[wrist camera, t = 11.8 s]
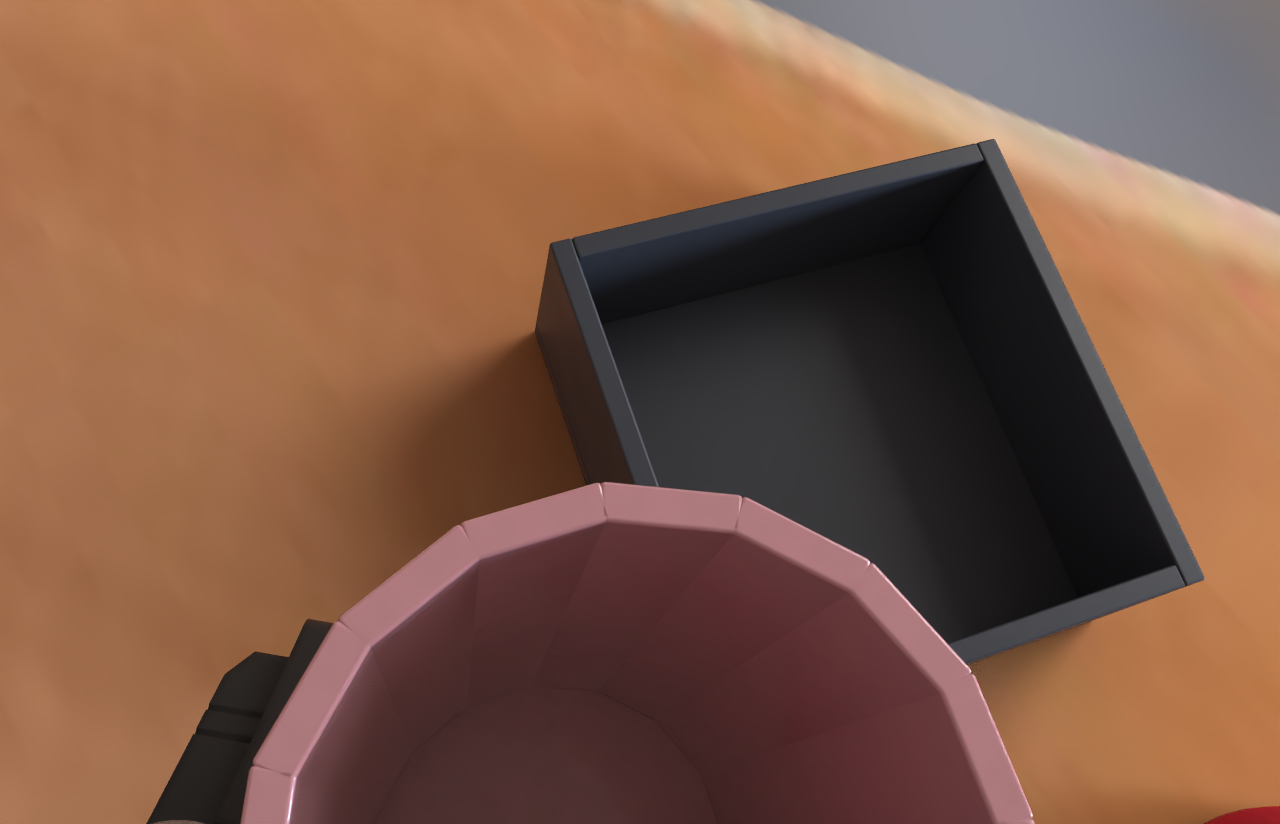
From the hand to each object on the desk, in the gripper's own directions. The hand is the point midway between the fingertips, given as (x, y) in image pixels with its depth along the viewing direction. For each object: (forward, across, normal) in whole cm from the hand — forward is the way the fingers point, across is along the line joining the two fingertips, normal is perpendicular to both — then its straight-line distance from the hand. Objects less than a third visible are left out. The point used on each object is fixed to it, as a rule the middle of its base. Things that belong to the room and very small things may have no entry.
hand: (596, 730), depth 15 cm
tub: (+20, -7, +5) cm, 22 cm away
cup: (+2, 0, +5) cm, 5 cm away
